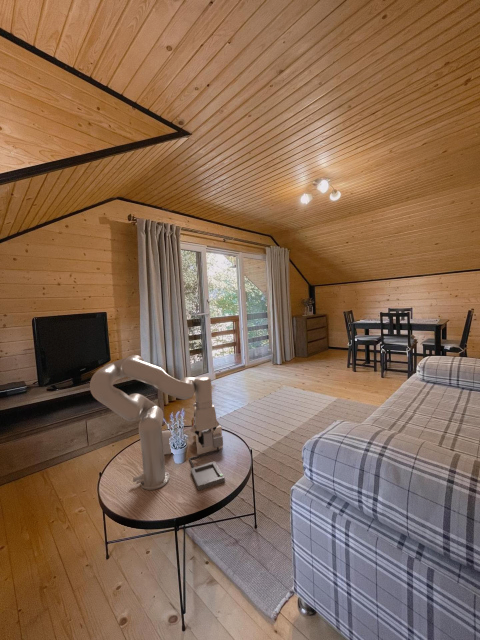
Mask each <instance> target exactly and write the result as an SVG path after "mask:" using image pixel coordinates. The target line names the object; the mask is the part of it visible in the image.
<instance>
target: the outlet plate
mask: <svg viewBox="0 0 480 640" xmlns="http://www.w3.org/2000/svg"><path fill="white" fill-rule="evenodd" d="M195 435H196V442H195V444H196V453H197V456H198V455H202V454H205V453H209V452H212V451H216V450H217V447H219V450H220V449H223V448H224V438H223V437H224V436H223V430H222V426H221V425H219V426H218V427H216V429H215V430H214V433H213V445H212V446H209V447H204V446H203V445H201V444H200V443H199V442H198V435H197V434H195Z"/></svg>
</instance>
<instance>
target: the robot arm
mask: <svg viewBox="0 0 480 640" xmlns="http://www.w3.org/2000/svg"><path fill="white" fill-rule="evenodd" d="M125 377H128V378H131V379H133V380H136V381H139V382H142V383H144V384H147V385H151V386H152V387H154V388H155V389H157V390H159V391H161V392H162V393H164V394H165V395H168V396H171V397H174V398H176V399H179V400H189V399H191V398H192V397H194V396H195V402H193V404H192V407H193V408H194V410H193V411H194V412H193V417H194V424H193V426H192V425H191V428H190V432H191V433H193V434H195V435H196V434H197V435H198V442H199V443H200V444H201V445H203V438H202V435H201V434H202V431H203V430H207V429H209V430H210V431H211V432H212V437H213V433H214V430H215V429H216V427H218V426H220V423H219V421H218V420H217V413H216V409H215V405H214V404H213V396H212V395H213V394H212V380H211V378H210V377H209V376H199V377H193V376H192V377H189V376H185V377H182V378H181V379H180V380H179V379H177V378H174V377H172V376H171V375H169V374H168V373H167V372H166V371H165V370H164V369H163V368H162V367H160V366H158V365H155V364H152V363H149V362H147V361H145V360H144V358H143V357H142V356H140V355H137V354H132V355H130V356H126V357H123V358H121V359H117V360H115V361H113V362H110V363H107V364H105V365H104V366H103V367H101V368H99V369H98V370H96V371H95V372H94V373H93V375H92V377H91V378H90V381H89V382H90V384H89V390H90V393H91V395H92V397H93V398H94V399H95V400H97V401H98V402H99V403H101V404H102V405H103V406H105V407H107V408H108V409H109V410H111V411H112V412H114V413H115V414H116V415H118V416H119V417H121V418H122V419H123V420H125V421H127V422H134V421H136V420H138V419H140V421H139V422H138V423H139V424H138V436H139V440H140V449H141V458H142V470H143V471H142V474H140V475H137V476H133V477H132V482H133V483H135V482H136V483H135V484H140V487H142V489H143V490H148V491H155V490H157V489H160V488H162V487H164V486H165V485H166V484H167V483H168V482H169V480H170V473H169V471H166V462H165V455H164V446H163V436H162V431H163V429H162V426H163V420H164V411H163V409H162V408H161V407H159V406H158V405H157V404H156V403H155V402H153V401H151V400H150V399H148V397H146V396H144V395H143V394H141V393H135V392H134V393H131V394H129V395H128V393H126V392H124V391H123V390H121V389H119V388H117V387H116V386H114V385H113V384H114V383H115V382H117V381H118V380H120V379H122V378H125ZM195 428H196V430H195Z"/></svg>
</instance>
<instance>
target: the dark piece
mask: <svg viewBox="0 0 480 640" xmlns="http://www.w3.org/2000/svg"><path fill="white" fill-rule="evenodd" d="M219 452H220V449H219V447H217V450H213V451H210V452H207V453H203V454H200V455H198V454H197V455H195V456H192V457H189V458H188V461H189V463H190V465H191V468H194V467H195V466H194V465H195V464H194V463H193V460H194V459H195V460H196V459H199V458H202V457H206V456H208V455H212V454H215V453H219Z"/></svg>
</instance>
